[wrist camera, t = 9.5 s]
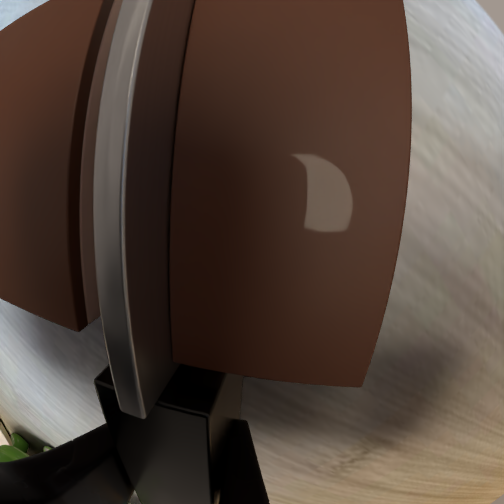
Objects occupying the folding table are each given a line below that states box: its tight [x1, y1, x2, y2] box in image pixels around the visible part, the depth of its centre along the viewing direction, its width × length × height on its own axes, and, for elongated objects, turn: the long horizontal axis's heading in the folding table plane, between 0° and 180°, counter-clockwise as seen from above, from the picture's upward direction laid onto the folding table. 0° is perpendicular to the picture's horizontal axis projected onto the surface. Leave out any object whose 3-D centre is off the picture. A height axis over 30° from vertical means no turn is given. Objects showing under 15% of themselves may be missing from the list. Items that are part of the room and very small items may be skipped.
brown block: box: [169, 0, 412, 387], centre depth 6 cm, size 4×8×4 cm, turn 175°
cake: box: [0, 0, 123, 332], centre depth 7 cm, size 8×8×4 cm
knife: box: [93, 0, 243, 504], centre depth 6 cm, size 16×2×4 cm, turn 175°
